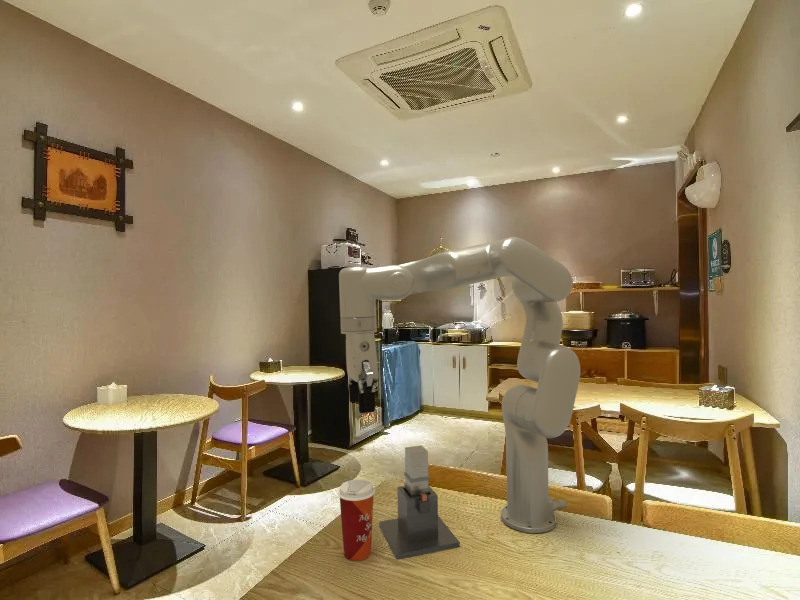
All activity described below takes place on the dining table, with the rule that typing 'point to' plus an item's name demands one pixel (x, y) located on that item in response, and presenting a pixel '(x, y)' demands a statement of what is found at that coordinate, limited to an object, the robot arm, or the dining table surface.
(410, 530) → the stand base
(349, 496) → the paper cup
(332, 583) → the dining table surface
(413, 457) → the column
